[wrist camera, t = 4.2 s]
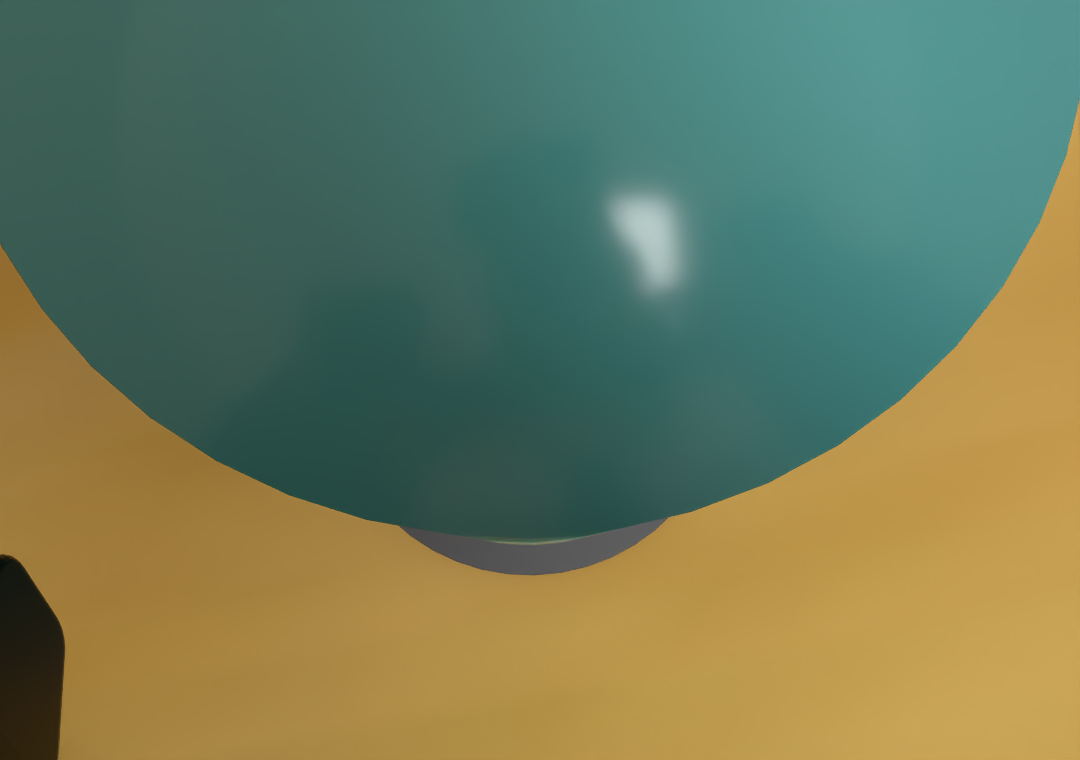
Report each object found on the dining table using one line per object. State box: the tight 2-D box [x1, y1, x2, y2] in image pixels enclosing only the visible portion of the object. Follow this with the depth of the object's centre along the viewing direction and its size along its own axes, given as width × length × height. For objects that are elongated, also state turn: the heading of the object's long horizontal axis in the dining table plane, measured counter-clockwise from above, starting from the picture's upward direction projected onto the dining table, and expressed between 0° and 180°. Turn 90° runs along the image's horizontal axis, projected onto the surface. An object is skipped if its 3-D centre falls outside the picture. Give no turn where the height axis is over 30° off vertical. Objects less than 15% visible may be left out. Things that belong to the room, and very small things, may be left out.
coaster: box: [400, 517, 668, 575], centre depth 18 cm, size 7×7×1 cm
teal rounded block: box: [0, 0, 1080, 546], centre depth 12 cm, size 6×6×13 cm
